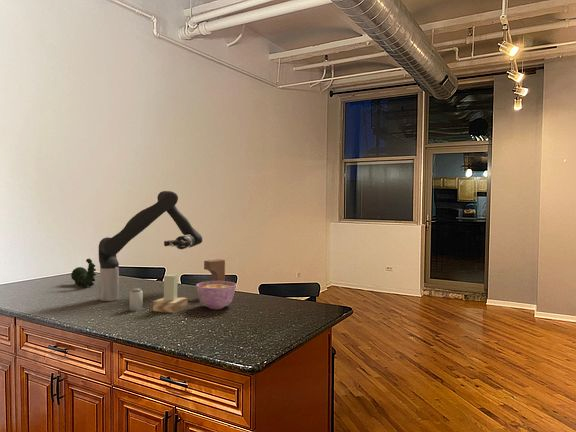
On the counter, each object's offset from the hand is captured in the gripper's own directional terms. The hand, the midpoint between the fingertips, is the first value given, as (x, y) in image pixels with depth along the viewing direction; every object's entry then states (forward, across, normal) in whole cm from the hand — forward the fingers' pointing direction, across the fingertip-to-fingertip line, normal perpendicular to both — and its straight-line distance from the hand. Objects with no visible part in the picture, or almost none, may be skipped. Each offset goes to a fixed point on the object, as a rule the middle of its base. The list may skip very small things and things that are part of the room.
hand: (172, 244), depth 233 cm
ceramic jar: (+26, -8, +30) cm, 40 cm away
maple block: (+22, +8, +30) cm, 38 cm away
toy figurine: (-25, -68, +30) cm, 79 cm away
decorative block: (-13, +20, +30) cm, 38 cm away
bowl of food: (+14, +29, +30) cm, 44 cm away
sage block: (+22, +8, +25) cm, 34 cm away
